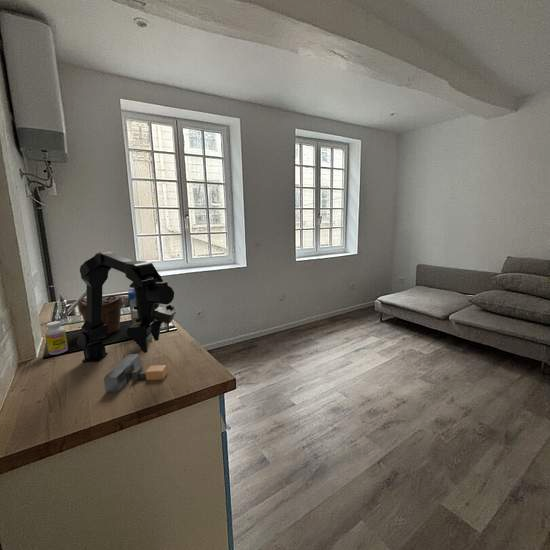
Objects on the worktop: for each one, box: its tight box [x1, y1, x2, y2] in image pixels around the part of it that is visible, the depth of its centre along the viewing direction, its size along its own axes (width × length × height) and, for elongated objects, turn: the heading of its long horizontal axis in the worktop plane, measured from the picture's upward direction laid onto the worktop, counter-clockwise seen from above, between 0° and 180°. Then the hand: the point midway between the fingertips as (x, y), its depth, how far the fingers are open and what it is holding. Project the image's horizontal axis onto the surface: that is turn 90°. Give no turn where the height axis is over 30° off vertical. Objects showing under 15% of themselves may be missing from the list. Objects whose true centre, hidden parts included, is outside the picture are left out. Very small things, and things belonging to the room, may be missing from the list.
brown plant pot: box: [78, 295, 125, 335], centre depth 142 cm, size 18×20×18 cm
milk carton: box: [127, 288, 136, 325], centre depth 141 cm, size 10×6×20 cm, turn 23°
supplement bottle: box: [44, 320, 69, 356], centre depth 119 cm, size 7×7×13 cm
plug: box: [131, 364, 168, 382], centre depth 96 cm, size 10×4×3 cm, turn 92°
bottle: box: [132, 309, 154, 343], centre depth 127 cm, size 7×7×15 cm
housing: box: [103, 353, 142, 393], centre depth 96 cm, size 4×16×5 cm, turn 2°
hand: (151, 346), depth 95 cm, fingers open, 9 cm apart
